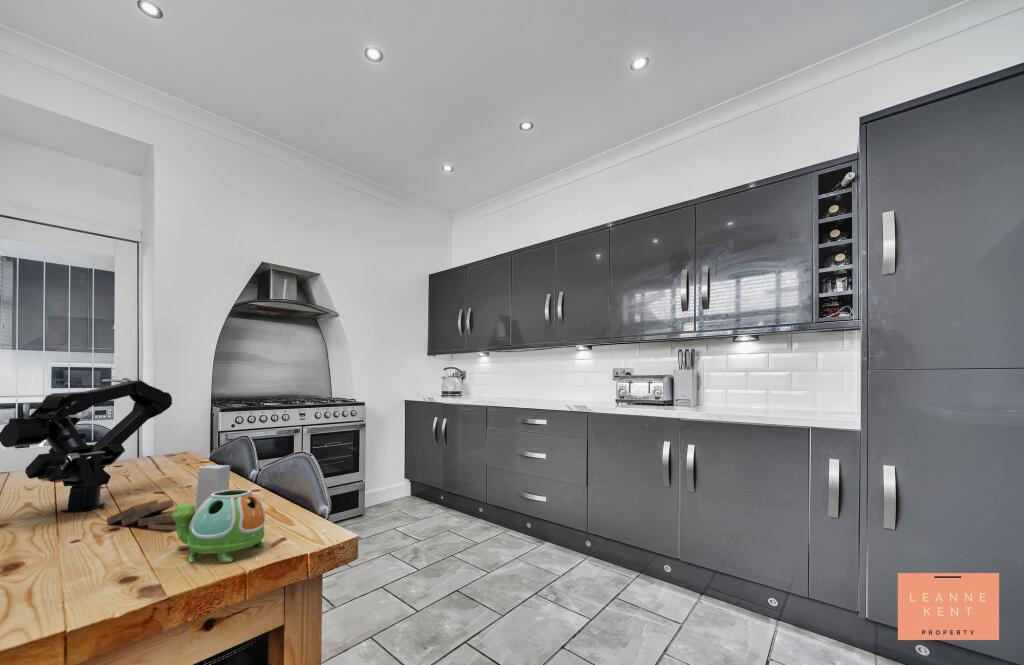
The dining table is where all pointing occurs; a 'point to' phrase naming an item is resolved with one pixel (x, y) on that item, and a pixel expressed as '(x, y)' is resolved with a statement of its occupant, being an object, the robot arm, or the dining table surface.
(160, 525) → the domino end
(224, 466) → the skincare box
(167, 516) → the domino
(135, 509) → the domino
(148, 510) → the domino
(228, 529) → the turtle holder
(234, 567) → the dining table surface
